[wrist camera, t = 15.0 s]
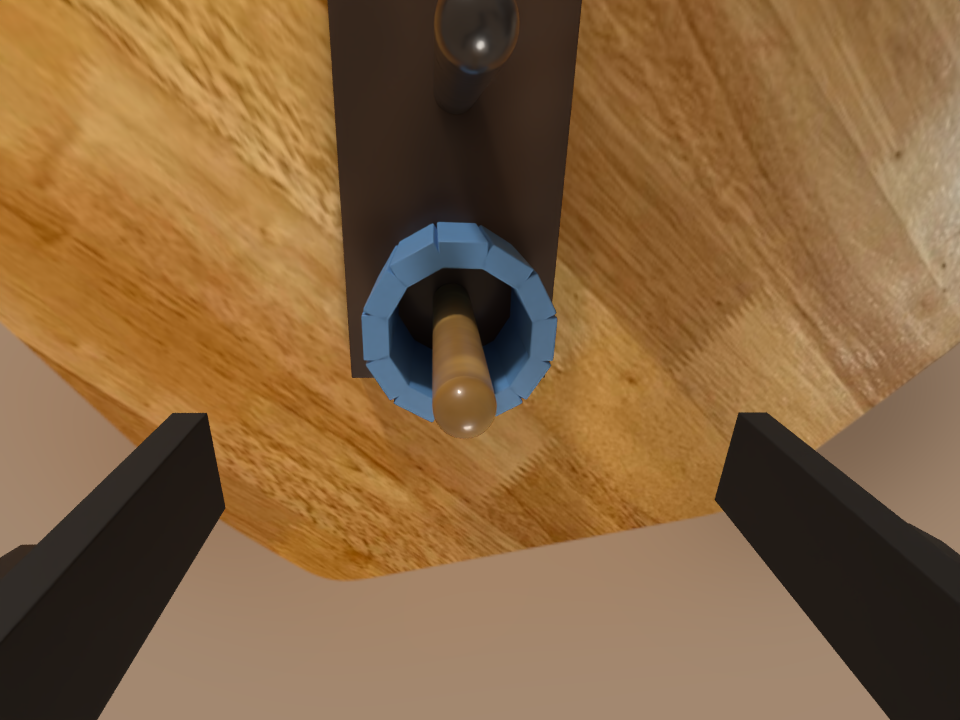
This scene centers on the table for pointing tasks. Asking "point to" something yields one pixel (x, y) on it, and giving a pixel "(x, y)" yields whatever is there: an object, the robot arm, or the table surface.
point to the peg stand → (451, 164)
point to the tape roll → (509, 357)
